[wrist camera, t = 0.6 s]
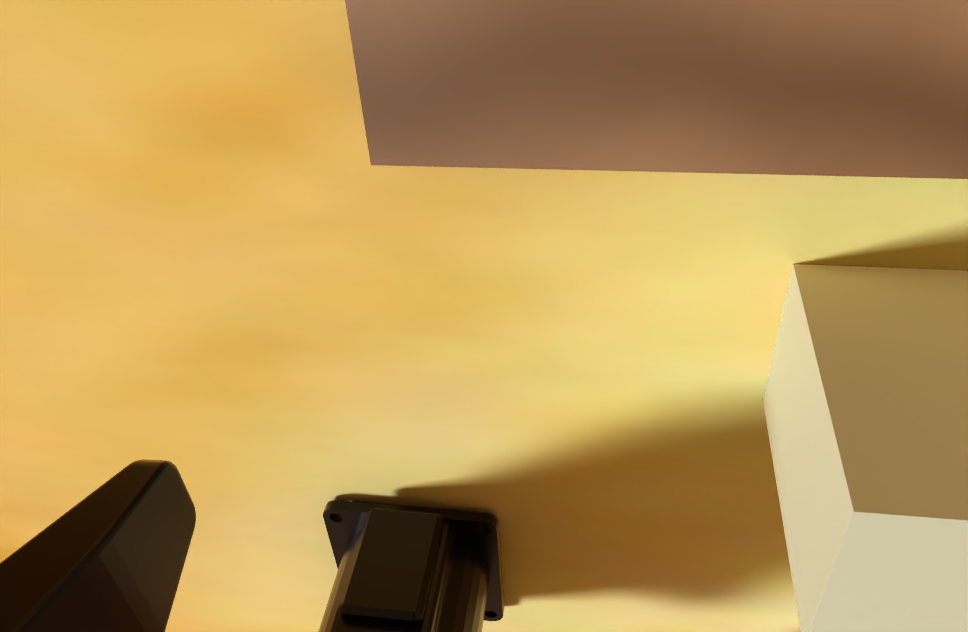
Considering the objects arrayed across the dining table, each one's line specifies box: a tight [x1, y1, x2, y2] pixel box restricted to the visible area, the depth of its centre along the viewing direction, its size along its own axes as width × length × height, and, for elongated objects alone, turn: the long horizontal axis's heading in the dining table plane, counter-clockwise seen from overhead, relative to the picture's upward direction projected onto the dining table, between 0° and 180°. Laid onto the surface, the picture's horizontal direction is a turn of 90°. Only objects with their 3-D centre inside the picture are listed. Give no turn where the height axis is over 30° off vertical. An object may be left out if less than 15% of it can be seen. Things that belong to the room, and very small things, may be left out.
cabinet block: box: [763, 264, 968, 632], centre depth 20 cm, size 6×5×8 cm
